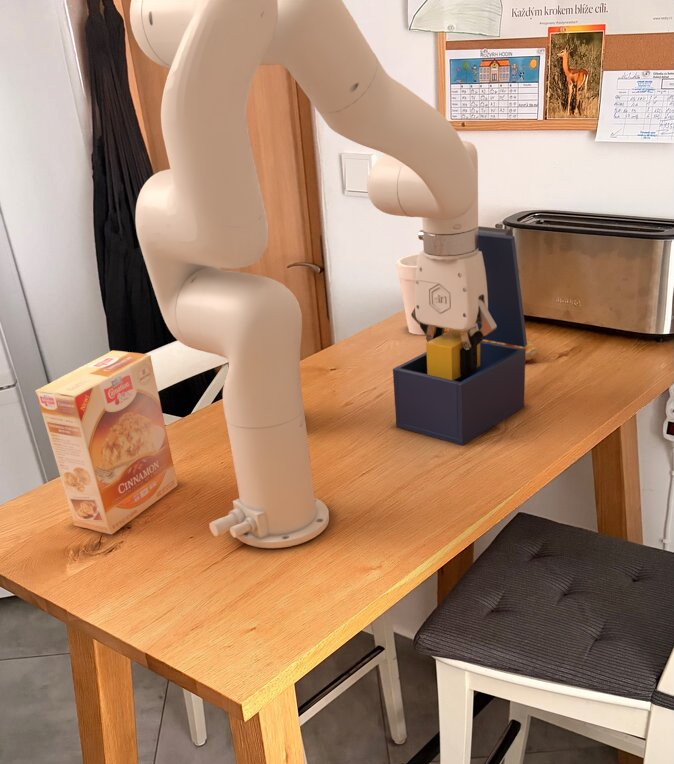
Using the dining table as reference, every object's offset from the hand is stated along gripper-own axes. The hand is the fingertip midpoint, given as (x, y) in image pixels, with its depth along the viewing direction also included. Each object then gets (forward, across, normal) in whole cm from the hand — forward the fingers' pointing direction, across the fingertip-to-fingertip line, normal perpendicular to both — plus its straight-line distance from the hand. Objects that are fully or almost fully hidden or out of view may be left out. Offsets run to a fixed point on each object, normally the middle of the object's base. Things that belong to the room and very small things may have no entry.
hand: (453, 368), depth 135 cm
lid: (-10, 0, +7) cm, 12 cm away
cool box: (+8, 0, +1) cm, 8 cm away
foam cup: (+9, -31, +31) cm, 45 cm away
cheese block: (0, 0, 0) cm, 0 cm away
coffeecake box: (+8, -22, -46) cm, 52 cm away
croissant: (+9, -12, +24) cm, 28 cm away
